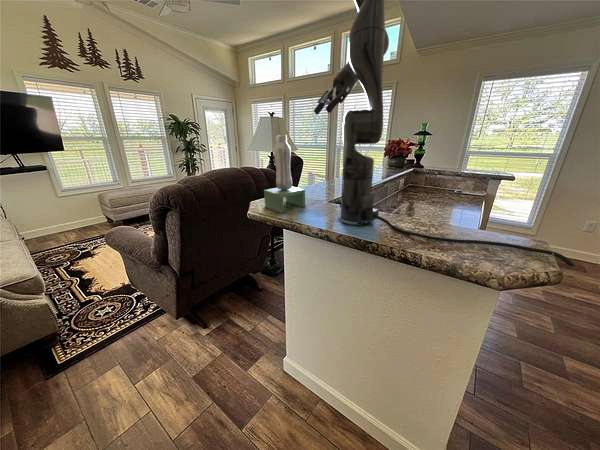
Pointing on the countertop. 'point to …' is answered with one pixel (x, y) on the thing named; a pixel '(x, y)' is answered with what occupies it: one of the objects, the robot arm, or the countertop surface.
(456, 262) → the countertop surface
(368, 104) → the robot arm
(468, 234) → the countertop surface
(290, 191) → the mint green box
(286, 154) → the plastic bottle
